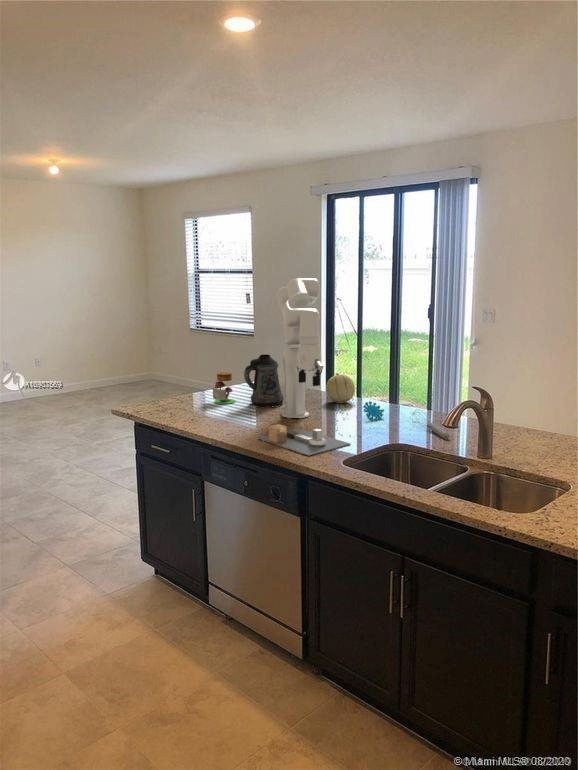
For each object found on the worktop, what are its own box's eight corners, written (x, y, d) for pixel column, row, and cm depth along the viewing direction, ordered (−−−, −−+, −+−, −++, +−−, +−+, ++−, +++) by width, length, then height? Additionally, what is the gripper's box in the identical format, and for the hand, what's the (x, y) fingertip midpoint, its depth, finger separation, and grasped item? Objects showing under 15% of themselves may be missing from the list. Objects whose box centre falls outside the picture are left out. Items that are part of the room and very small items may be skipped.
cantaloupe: (346, 407, 293) (347, 377, 290) (320, 404, 301) (320, 374, 298) (359, 401, 306) (360, 372, 303) (334, 398, 313) (334, 370, 310)
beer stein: (289, 403, 303) (289, 354, 298) (268, 410, 287) (267, 359, 282) (263, 399, 312) (262, 351, 307) (240, 406, 296) (239, 356, 291)
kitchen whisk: (442, 442, 236) (443, 426, 234) (406, 421, 268) (407, 407, 267) (456, 441, 237) (457, 425, 236) (419, 420, 269) (420, 407, 268)
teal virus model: (368, 418, 265) (361, 400, 270) (361, 425, 269) (355, 407, 274) (388, 419, 270) (382, 400, 275) (382, 426, 274) (375, 408, 279)
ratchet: (275, 435, 243) (275, 420, 241) (287, 432, 247) (287, 418, 246) (317, 448, 225) (317, 433, 223) (329, 445, 229) (329, 430, 228)
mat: (257, 439, 239) (257, 437, 239) (298, 429, 253) (298, 428, 253) (308, 456, 217) (308, 455, 217) (350, 444, 231) (350, 443, 231)
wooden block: (268, 441, 235) (268, 426, 233) (278, 438, 238) (278, 424, 237) (277, 443, 231) (276, 428, 230) (286, 441, 234) (286, 426, 233)
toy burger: (222, 398, 314) (221, 370, 311) (240, 401, 307) (240, 372, 304) (206, 402, 305) (206, 373, 302) (225, 405, 298) (224, 376, 295)
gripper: (289, 340, 240) (289, 382, 243) (314, 343, 226) (314, 388, 229) (304, 339, 244) (304, 380, 247) (330, 342, 230) (329, 386, 233)
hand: (309, 384), depth 238 cm, fingers open, 9 cm apart
